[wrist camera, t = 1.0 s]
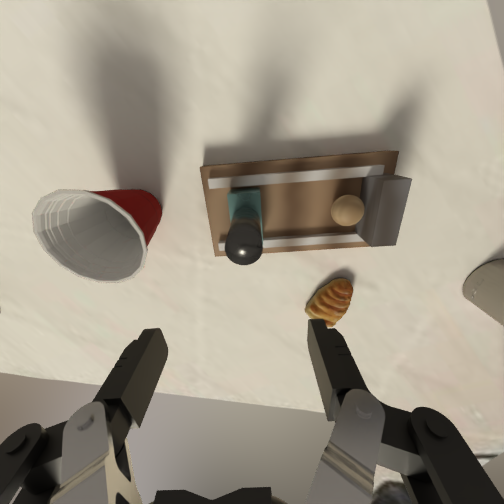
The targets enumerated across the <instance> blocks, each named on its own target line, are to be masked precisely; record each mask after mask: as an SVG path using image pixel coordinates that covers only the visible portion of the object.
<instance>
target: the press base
mask: <svg viewBox="0 0 504 504" xmlns="http://www.w3.org/2000/svg"><path fill="white" fill-rule="evenodd" d="M398 154H399V151H378V152H366V153H354V154H342V155H330V156H317V157H305V158H293V159H281V160H269V161H256V162H244V163H232V164H220V165H208V166H202V167H200V172H201V178H202V184H203V189H204V195H205V201H206V207H207V212H208V218H209V224H210V230H211V235H212V241H213V247H214V253H215V257H216V256H227V255H226V253H225V242H226V238H227V235H228V231H229V228H230V224H231V222H230V214H229V206H228V199H227V193H228V191H229V190H231V189H243V188H256V187H260V197H261V215H262V232H263V251H262V253H277V252H292V251H307V250H322V249H337V248H353V247H368V246H371V247H378V246H393V245H396V242H397V238H398V233H399V229H400V225H401V221H402V217H403V213H404V209H405V205H406V201H407V197H408V193H409V189H410V185H411V181H412V179H411V178H407V177H402V176H398V175H394V172H395V168H396V163H397V158H398ZM344 195H354V196H357V197H358V198H360V199H361V200H362V202H363V204H364V207H365V210H364V215H363V217H362V218H361V220H360V221H359V222H357V223H356V224H354V225H351V226H342V225H340V224H338V223H336V222H335V221H334V220H333V218H332V215H331V208H332V205H333V203H334V202H335V201H336V200H337V199H338V198H339V197H341V196H344Z"/></svg>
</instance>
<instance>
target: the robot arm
mask: <svg viewBox="0 0 504 504" xmlns="http://www.w3.org/2000/svg"><path fill="white" fill-rule="evenodd" d="M463 294H464V296H465V298H466V299H467V300H469V301H470V302H472V303H473V304H474V305H476V306H477V307H478V308H480V309H481V310H482V311H484V312H485V313H487V314H488V315H489V316H490V317H492V318H493V319H495V320H496V321H497V322H499V323H500V324H501V325H503V326H504V259H499V260H495V261H492V262H489V263H487V264H485V265H483V266H481V267H480V268H478V269H477V270H475V271H474V272H473V273H472V274H471V275H470V276H469V277H468V278H467V280H466V282H465V283H464V286H463ZM307 342H308V349H309V353H310V357H311V361H312V365H313V368H314V372H315V376H316V379H317V383H318V387H319V390H320V394H321V398H322V402H323V405H324V409H325V413H326V416H327V420H328V421H335V426H334V429H333V431H332V434H331V437H330V440H329V442H328V445H327V447H326V448H325V450H324V452H323V454H322V457H321V460H320V462H319V465H318V468H317V471H316V474H315V476H314V479H313V482H312V484H311V487H310V490H309V493H308V496H307V498H306V501H305V504H371V500H372V494H373V487H374V482H373V481H374V474H375V469H376V464H377V465H380V466H383V467H385V468H388V469H391V470H394V471H396V472H399V473H400V474H401V477H402V479H403V482H404V484H405V487H406V489H407V492H408V494H409V497H410V499H411V502H412V504H504V499H503V498H502V497H501V495H500V493H499V492H498V490H497V489H496V487H495V486H494V484H493V483H492V481H491V480H490V478H489V477H488V475H487V474H486V472H485V471H484V469H483V467H482V466H481V464H480V463H479V461H478V460H477V458H476V457H475V455H474V454H473V452H472V451H471V449H470V448H469V446H468V445H467V443H466V442H465V440H464V439H463V437H462V436H461V434H460V433H459V431H458V430H457V428H456V427H455V426H454V424H453V423H452V422H451V421H450V420H449V419H448V418H446V417H445V416H444V415H443V414H441V413H439V412H438V411H436V410H434V409H431V408H427V407H418V408H416V409H414V410H413V411H412V413H411V412H408V411H404V410H401V409H397V408H394V407H391V406H388V405H386V404H384V403H382V402H380V401H379V400H378V399H377V398H376V397H375V396H373V395H372V394H371V393H370V391H369V390H368V388H367V386H366V384H365V382H364V380H363V378H362V376H361V374H360V372H359V369H358V367H357V365H356V363H355V361H354V359H353V357H352V356H351V352H350V350H349V348H348V347H347V344H346V342H345V339H344V337H343V336H342V335H341V334H340V333H339V332H338V331H337V330H336V329H335V328H332V329H328V328H327V326H326V323H325V321H324V319H323V318H322V319H309V320H308V337H307ZM167 357H168V347H167V344H166V341H165V339H164V336H163V334H162V331H161V329H160V328H153V329H144V330H143V331H142V333H141V335H140V336H139V338H138V340H133V341H132V342H131V343H130V344H129V345H128V346H127V347H126V348H125V349H124V351H123V353H122V354H121V356H120V358H119V360H118V361H117V362H116V364H115V366H114V368H113V369H112V371H111V372H110V374H109V375H108V377H107V379H106V380H105V382H104V383H103V385H102V387H101V388H100V390H99V392H98V393H97V395H96V397H95V398H94V400H93V401H92V402H91V403H88V404H86V405H84V406H83V407H81V408H80V409H79V410H77V411H76V412H75V413H74V414H73V415H72V416H71V417H70V419H69V420H68V421H65V422H62V423H59V424H57V425H54V426H52V427H49V428H46V429H44V428H43V427H41V425H39V424H37V423H32V424H28V425H26V426H23V427H22V428H20V429H18V430H17V431H16V432H14V433H13V434H11V435H10V436H9V437H8V438H7V439H6V440H5V441H4V442H3V443H2V444H1V445H0V504H9V503H10V501H11V500H12V498H13V497H14V495H15V493H16V492H17V490H18V489H19V487H22V489H21V491H20V493H19V494H18V496H17V497H16V499H15V501H14V502H13V504H143V503H142V500H141V497H140V494H139V492H138V490H137V487H136V483H135V478H134V472H133V467H132V462H131V456H130V451H129V445H128V441H127V438H126V437H127V434H128V432H129V430H130V429H136V428H140V426H141V423H142V421H143V418H144V415H145V413H146V411H147V408H148V406H149V403H150V401H151V398H152V396H153V393H154V390H155V388H156V385H157V383H158V380H159V378H160V375H161V373H162V370H163V368H164V365H165V363H166V360H167ZM150 504H287V503H286V502H284V501H283V500H281V499H279V498H277V497H275V496H272V493H271V487H257V488H241V489H239V490H237V491H234V492H232V493H229V494H226V495H224V496H222V497H219V498H217V499H214V500H209V499H207V498H204V497H202V496H199V495H196V494H194V493H191V492H189V491H186V490H163V491H157V493H156V496H155V500H154V501H153V502H151V503H150Z"/></svg>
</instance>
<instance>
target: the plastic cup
mask: <svg viewBox="0 0 504 504" xmlns="http://www.w3.org/2000/svg"><path fill="white" fill-rule="evenodd" d="M161 216H162V210H161V205H160V204H159V202H158V200H157V199H156V198H155V197H154V196H153V195H152V194H151V193H148V192H146V191H143V190H134V189H131V190H107V191H87V190H57V191H55V192H52V193H50V194H48V195H46V196H44V197H42V198H40V200H39V202H38V203H37V205H36V207H35V209H34V210H33V212H32V220H33V232H34V233H35V235H36V237H37V239H38V241H39V243H40V244H41V246H42V248H43V250H44V251H45V252H46V253H47V254H48V255H49V256H50V257H51V258H52V259H53V260H54V261H55V262H56V263H57V264H59V265H60V266H61V267H63V268H65V269H66V270H68V271H70V272H72V273H73V274H75V275H77V276H78V277H81V278H85V279H88V280H91V281H95V282H98V283H120V282H123V281H126V280H129V279H132V278H134V277H135V276H136V275H137V274H138V273H139V272H140V271H141V270H142V269H143V268H144V264H145V260H146V256H147V251H148V249H147V246H148V244H149V242H150V240H151V238H152V237H153V235H154V233H155V231H156V228H157V226H158V224H159V223H160V220H161Z"/></svg>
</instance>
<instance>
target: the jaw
mask: <svg viewBox="0 0 504 504" xmlns="http://www.w3.org/2000/svg"><path fill="white" fill-rule="evenodd" d="M227 199H228V206H229V214H230V222H231V224H230V228H229V231H228V235H227V238H226V242H225V253H226V255H227V257H228V258H229V259H230V260H231V261H232V262H234V263H236V264H239V265H249V264H252V263H254V262H256V261H257V260H258V259H259V258H260V256H261V254H262V251H263V232H262V215H261V197H260V187H256V188H243V189H231V190H229V191H228V193H227Z"/></svg>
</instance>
